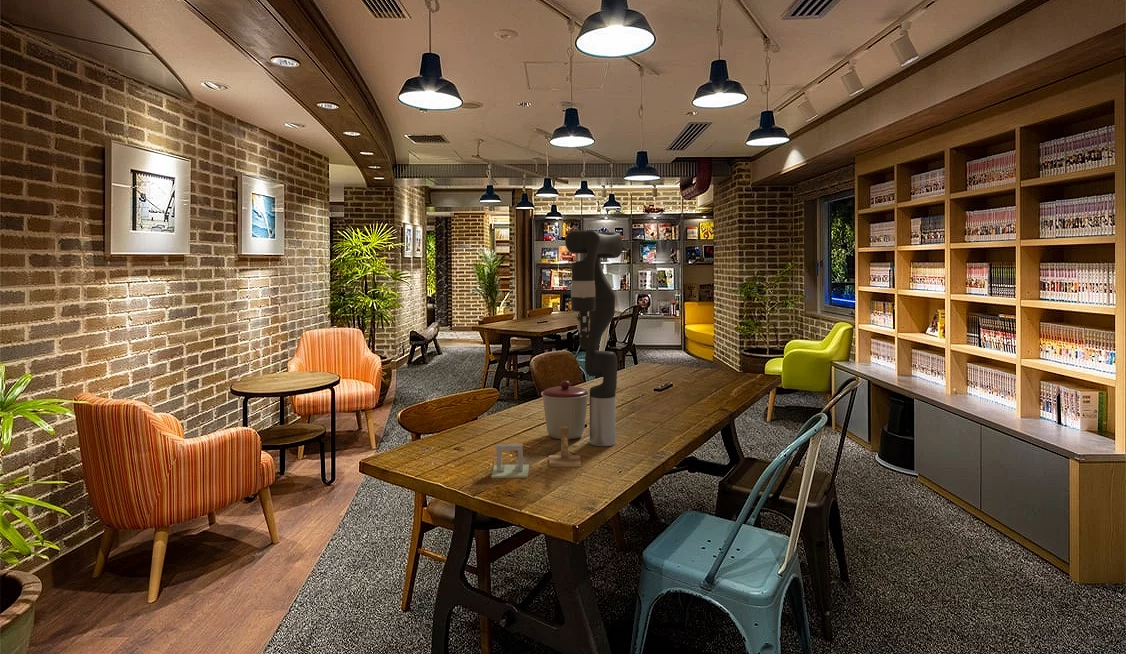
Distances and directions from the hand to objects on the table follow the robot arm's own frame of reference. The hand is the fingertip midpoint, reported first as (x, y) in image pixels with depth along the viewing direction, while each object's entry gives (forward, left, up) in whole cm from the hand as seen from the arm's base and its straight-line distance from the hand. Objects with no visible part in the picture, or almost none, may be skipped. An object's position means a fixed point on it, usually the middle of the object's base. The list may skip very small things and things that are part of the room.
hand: (583, 347), depth 199 cm
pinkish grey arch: (+5, -23, -38) cm, 44 cm away
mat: (+5, -23, -38) cm, 45 cm away
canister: (-36, -5, -38) cm, 53 cm away
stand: (0, -6, -38) cm, 39 cm away
